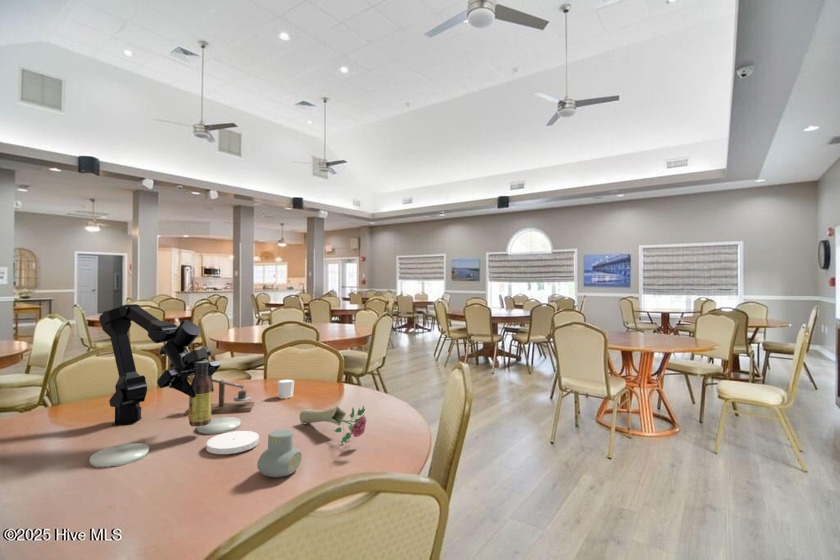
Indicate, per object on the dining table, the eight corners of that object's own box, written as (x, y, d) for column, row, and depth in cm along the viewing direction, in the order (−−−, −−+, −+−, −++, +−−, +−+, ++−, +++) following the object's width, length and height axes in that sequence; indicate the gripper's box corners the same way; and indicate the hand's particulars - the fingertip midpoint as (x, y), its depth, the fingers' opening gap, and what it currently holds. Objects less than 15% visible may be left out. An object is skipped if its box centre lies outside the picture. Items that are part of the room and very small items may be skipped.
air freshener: (284, 484, 97) (284, 442, 97) (252, 481, 98) (253, 439, 98) (304, 464, 107) (305, 426, 108) (276, 462, 109) (276, 424, 109)
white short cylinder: (289, 400, 168) (289, 383, 168) (274, 398, 169) (274, 382, 169) (297, 395, 174) (297, 379, 174) (282, 394, 176) (283, 378, 176)
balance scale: (185, 415, 147) (186, 379, 147) (192, 408, 154) (193, 374, 155) (250, 411, 152) (251, 377, 152) (254, 405, 159) (254, 372, 160)
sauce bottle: (191, 421, 129) (193, 359, 129) (213, 420, 131) (215, 358, 131) (185, 428, 123) (187, 363, 123) (208, 427, 124) (210, 362, 125)
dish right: (191, 435, 127) (191, 431, 127) (203, 422, 140) (203, 418, 140) (236, 432, 130) (236, 428, 130) (244, 419, 143) (244, 416, 143)
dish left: (78, 469, 103) (78, 464, 103) (105, 449, 116) (105, 445, 116) (136, 465, 106) (136, 460, 106) (156, 445, 119) (156, 441, 119)
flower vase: (317, 443, 141) (384, 448, 118) (285, 442, 133) (350, 446, 110) (322, 408, 145) (387, 406, 122) (291, 404, 137) (355, 401, 114)
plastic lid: (206, 461, 109) (206, 452, 109) (206, 443, 122) (206, 435, 122) (261, 452, 116) (261, 443, 116) (256, 436, 128) (256, 428, 128)
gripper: (165, 343, 120) (191, 384, 116) (217, 336, 137) (241, 372, 133) (146, 367, 122) (170, 408, 118) (199, 357, 140) (222, 393, 136)
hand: (203, 394), depth 126 cm, fingers closed on sauce bottle, 6 cm apart
